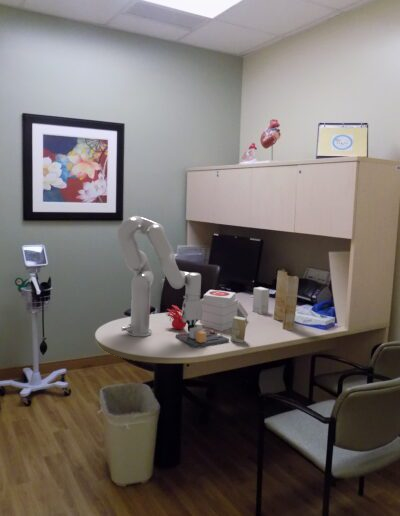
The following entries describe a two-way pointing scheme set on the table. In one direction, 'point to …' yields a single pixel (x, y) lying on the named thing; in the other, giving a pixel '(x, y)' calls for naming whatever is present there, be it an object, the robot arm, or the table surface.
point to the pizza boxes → (220, 309)
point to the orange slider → (201, 336)
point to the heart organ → (176, 318)
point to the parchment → (286, 299)
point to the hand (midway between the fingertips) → (190, 331)
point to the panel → (211, 339)
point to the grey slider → (193, 332)
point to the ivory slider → (198, 326)
